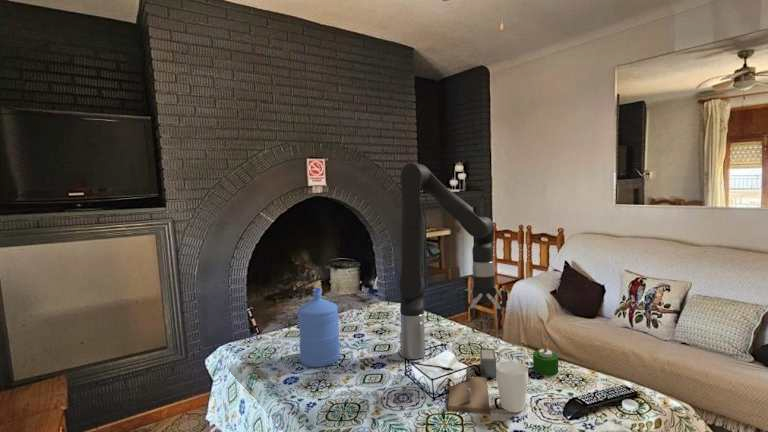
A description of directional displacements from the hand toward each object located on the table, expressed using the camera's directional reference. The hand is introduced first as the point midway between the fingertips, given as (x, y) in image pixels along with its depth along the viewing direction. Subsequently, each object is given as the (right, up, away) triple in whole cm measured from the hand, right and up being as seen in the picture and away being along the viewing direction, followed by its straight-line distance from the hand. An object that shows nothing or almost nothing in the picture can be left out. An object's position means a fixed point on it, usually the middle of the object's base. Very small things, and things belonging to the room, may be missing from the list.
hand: (485, 318), depth 138 cm
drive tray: (-9, -20, -15) cm, 27 cm away
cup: (+2, -21, -22) cm, 30 cm away
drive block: (+1, -19, +1) cm, 19 cm away
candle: (+21, -19, -1) cm, 28 cm away
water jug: (-61, -20, +15) cm, 66 cm away
